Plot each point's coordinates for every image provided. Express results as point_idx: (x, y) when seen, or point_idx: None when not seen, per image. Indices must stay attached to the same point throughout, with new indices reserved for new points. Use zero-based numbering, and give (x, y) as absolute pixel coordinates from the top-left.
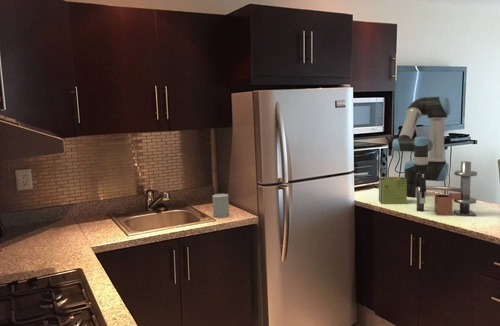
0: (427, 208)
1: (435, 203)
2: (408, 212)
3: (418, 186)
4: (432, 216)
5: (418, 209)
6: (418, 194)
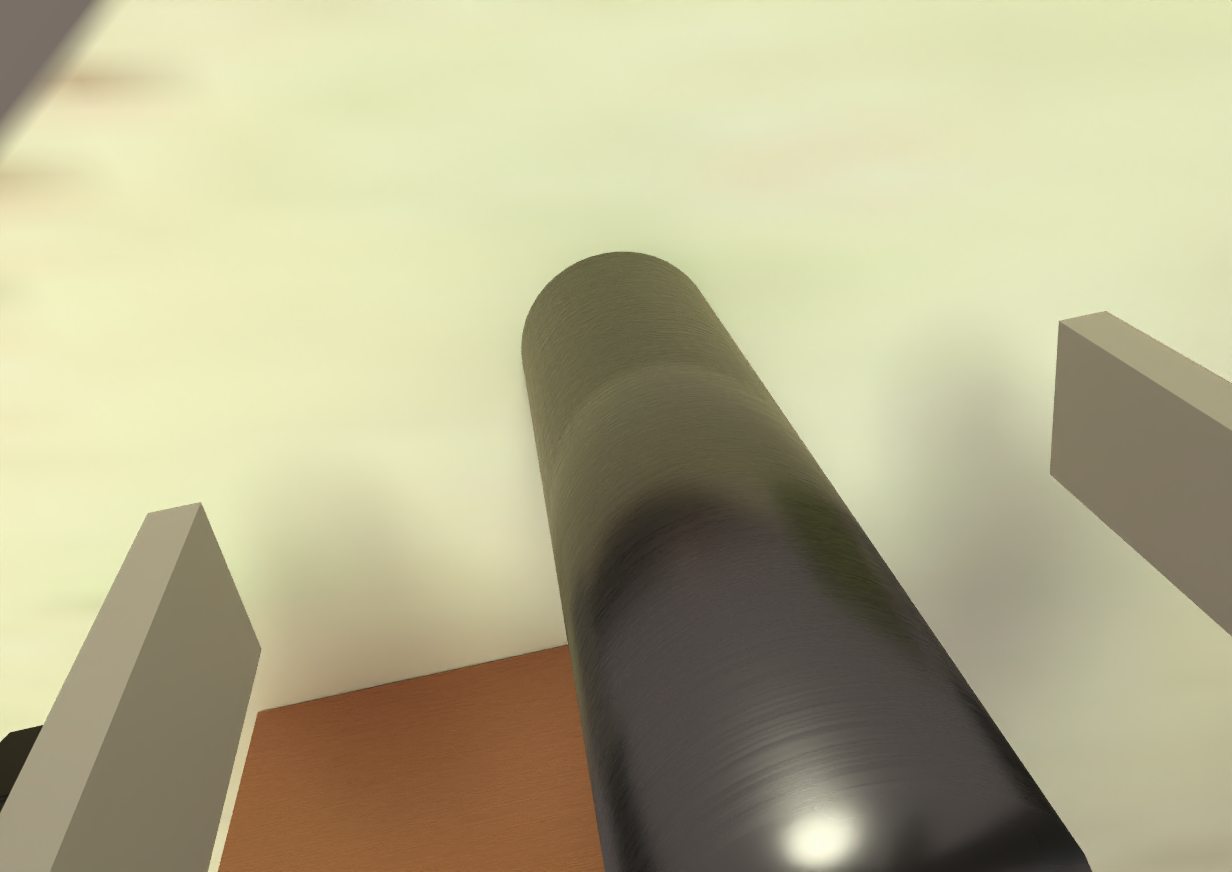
0: (892, 493)
1: (494, 844)
2: (312, 18)
3: (1005, 856)
4: None
5: (534, 324)
6: (603, 585)
